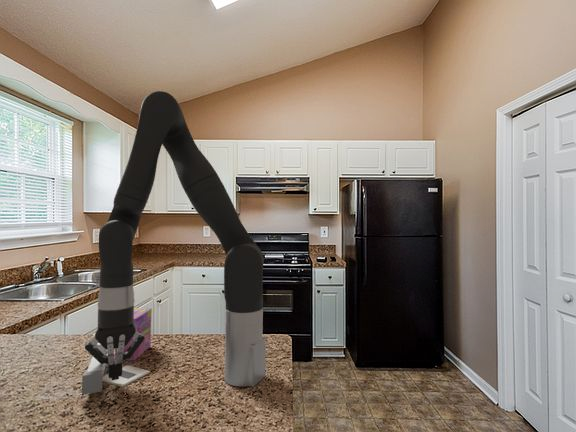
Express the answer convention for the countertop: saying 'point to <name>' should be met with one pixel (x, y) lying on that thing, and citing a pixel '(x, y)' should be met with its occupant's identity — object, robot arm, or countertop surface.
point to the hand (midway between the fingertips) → (115, 378)
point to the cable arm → (94, 375)
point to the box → (140, 331)
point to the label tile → (126, 376)
